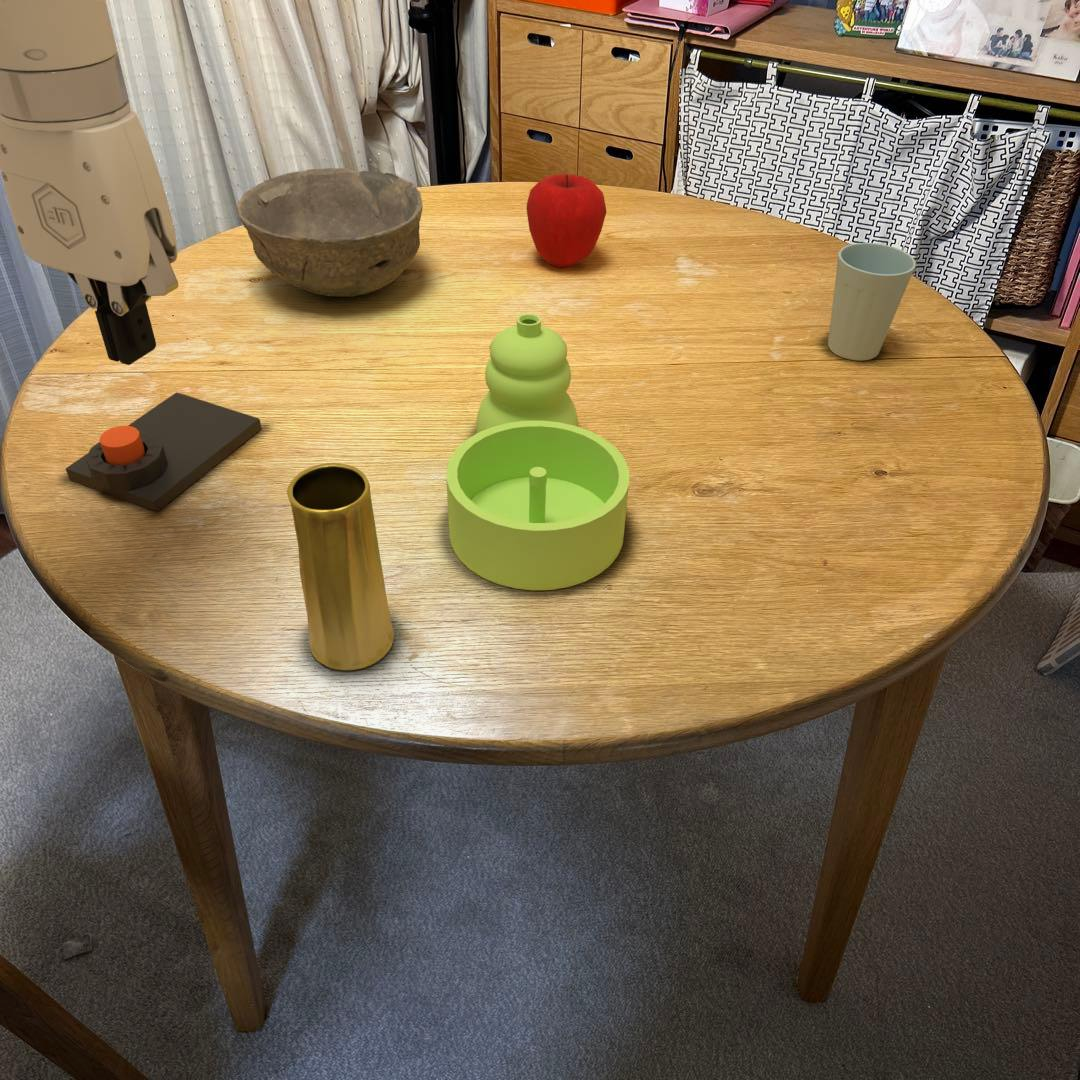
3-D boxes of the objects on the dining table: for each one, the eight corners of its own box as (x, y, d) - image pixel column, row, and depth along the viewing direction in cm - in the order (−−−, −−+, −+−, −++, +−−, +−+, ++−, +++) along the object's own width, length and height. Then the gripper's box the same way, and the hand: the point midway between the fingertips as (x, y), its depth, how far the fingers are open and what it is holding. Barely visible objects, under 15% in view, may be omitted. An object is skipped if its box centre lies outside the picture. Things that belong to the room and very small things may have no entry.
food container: (635, 587, 75) (650, 456, 67) (449, 593, 74) (442, 461, 66) (598, 411, 94) (606, 293, 86) (449, 414, 93) (443, 295, 85)
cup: (816, 360, 103) (838, 268, 96) (817, 327, 108) (838, 238, 102) (889, 370, 102) (917, 278, 95) (886, 336, 107) (913, 247, 100)
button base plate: (152, 515, 81) (144, 487, 79) (64, 482, 84) (53, 454, 82) (262, 429, 91) (256, 402, 89) (179, 402, 94) (172, 375, 92)
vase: (363, 599, 74) (341, 447, 64) (411, 643, 70) (396, 489, 61) (293, 637, 71) (261, 483, 61) (340, 685, 67) (313, 530, 58)
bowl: (283, 340, 104) (268, 251, 97) (230, 265, 117) (213, 183, 110) (457, 300, 111) (454, 215, 105) (388, 234, 125) (382, 156, 118)
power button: (126, 470, 81) (119, 450, 80) (97, 460, 82) (90, 440, 81) (153, 451, 83) (147, 431, 82) (125, 441, 84) (118, 421, 83)
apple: (604, 279, 116) (610, 190, 109) (525, 277, 116) (526, 188, 109) (601, 245, 124) (606, 159, 117) (526, 243, 124) (527, 157, 117)
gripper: (-81, 85, 58) (16, 354, 70) (111, 124, 54) (180, 403, 66) (17, 57, 64) (92, 311, 75) (199, 90, 59) (249, 355, 71)
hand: (133, 354), depth 71 cm, fingers closed
